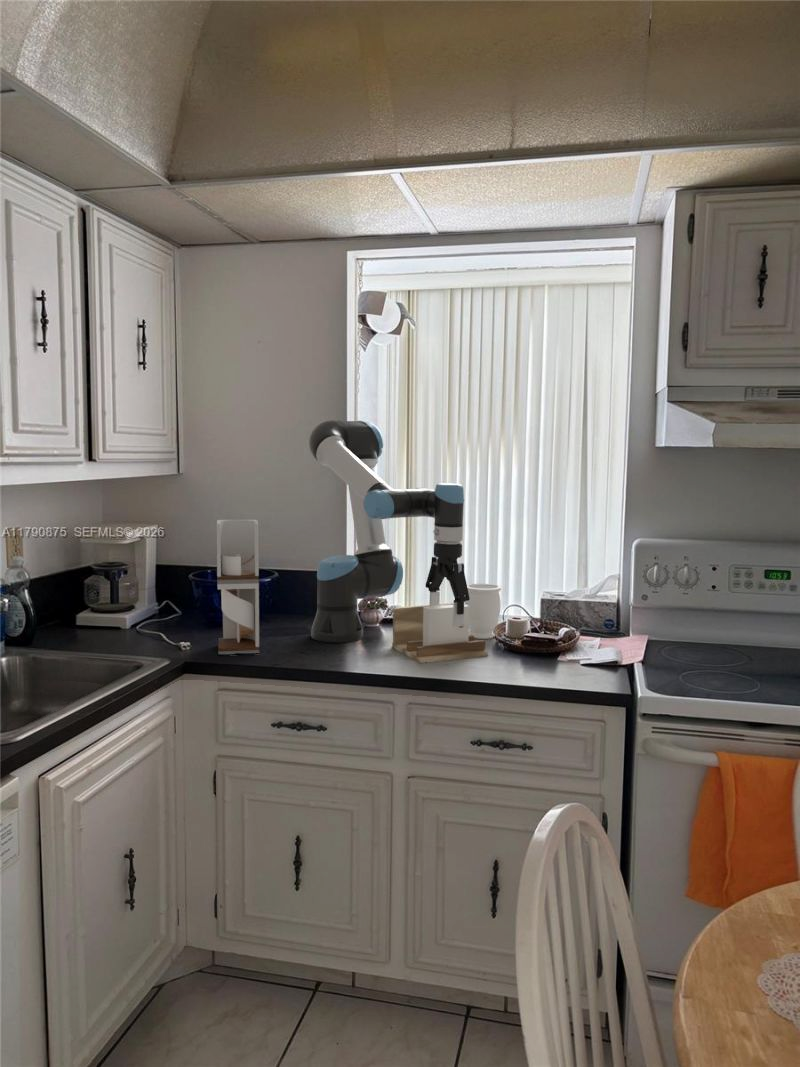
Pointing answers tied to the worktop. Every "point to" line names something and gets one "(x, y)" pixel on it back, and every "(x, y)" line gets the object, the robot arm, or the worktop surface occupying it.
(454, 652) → the track base
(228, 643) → the spiral ramp tower
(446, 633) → the door panel
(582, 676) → the worktop surface
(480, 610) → the jar
